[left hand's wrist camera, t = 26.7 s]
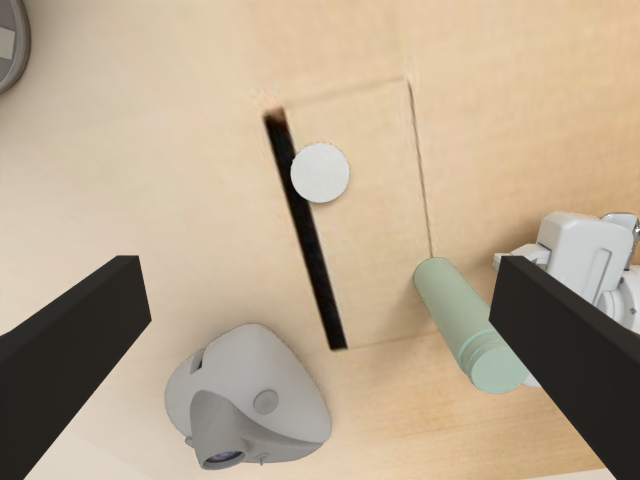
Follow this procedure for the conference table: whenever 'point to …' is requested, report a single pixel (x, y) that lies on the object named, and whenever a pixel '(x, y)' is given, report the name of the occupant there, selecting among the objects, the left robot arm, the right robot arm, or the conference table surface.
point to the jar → (468, 327)
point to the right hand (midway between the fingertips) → (486, 302)
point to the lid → (320, 172)
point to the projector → (247, 401)
